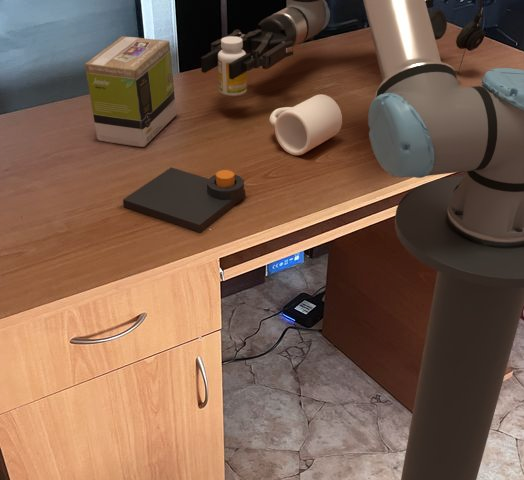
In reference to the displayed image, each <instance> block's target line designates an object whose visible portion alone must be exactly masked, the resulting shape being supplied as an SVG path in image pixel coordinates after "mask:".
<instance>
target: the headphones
mask: <svg viewBox="0 0 524 480" xmlns="http://www.w3.org/2000/svg"><path fill="white" fill-rule="evenodd" d="M477 1H478V3H477V4H478V13H475V14H474V18H473V20H471V21H470V22H469V23H468V22H467V24H466V25H464V26H463V27H462V29H461V30H460V31H459V33H458V34H457V36H456V40H455V44H456V47H457V48H458V49H459V50H464V51H463V55H462V59H461V62H460V65H459V68H458V71H457V70H455V73H457V74H459V73H460V70H461V67H462V63H463V60H464V56H465V52H466V50H467V51H468V52H471V51H474V50H476V49H478V48H479V46H480V45H481V44H482V43H483V41H484V39H485V36H486V33H485V30H483V27H482V26H481V24H482V22H483V19H484V14H483V10H484V7H485V3H486V2H485V1H483V3H482V0H477ZM425 3H426V6H427V9H430V11H428V14H429V18H430V22H431V25H432V29H433V33H434V37H435V41H436V40H437V41H438V40H440V39H442V38H443V36H444V35H445V33H446V32H447V28H448V22H447V16H446V14H445V12H444V11H443V10H441V9H439V8H434V0H425ZM433 8H434V9H433Z"/></svg>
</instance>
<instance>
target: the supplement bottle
mask: <svg viewBox="0 0 524 480" xmlns="http://www.w3.org/2000/svg"><path fill="white" fill-rule="evenodd" d="M223 37H224V38H223ZM223 37H221V38H222V39H221V38H220V39H221V48H222V50H221V51H220V52H219V53H218V66H217V73H218V91H219V93H220V94H221V95H224V96H228V97H229V96H230V97H237V96H242V95H243V94H244V95H245V94H246V92H247V90H248V73H247V72H248V71H246V72H245V73H243V74H241V75H239V76H238V77H236V78H234V79H229V64H230V63H231V62H233V61H235V60H237V59H238V58H240V57H242V56H244V55H246V53H245V51H244V50H242V47H243V41H242V39H241V38H240V37H234V36H229V37H225V36H223Z"/></svg>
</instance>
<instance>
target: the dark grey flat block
mask: <svg viewBox="0 0 524 480" xmlns="http://www.w3.org/2000/svg"><path fill="white" fill-rule="evenodd" d="M245 198H246V189H245V180H244V179H243V178H242V177H241V175H237V174H235V184H234V186H231V187H219V186H217V185H216V174H214V175H212V176H210V177H209V178H207V177H205V176H201V175H199V174H194V173H191V172H189V171H185V170H181V169H178V168H175V167H170V168H168V169H166V170H165V171H164V172H162V173H161V174H159V175H157V176H156V177H154V178H153V179H151V180H150V181H148V182H147V183H145V184H143V186H141V187H140V188H138V189H136V190H135V191H133V192H132V193H130V194H128V195H127V196H126V197H124V198H122V204H123V208H125V209H129V210H132V211H135V212H138V213H141V214H144V215H146V216H149V217H152V218H155V219H158V220H161V221H164V222H167V223H170V224H173V225H176V226H179V227H182V228H185V229H188V230H191V231H193V232H197V233H202V232H203V231H204V230H206V229H207V228H208V227H209V226H211V225H212V224H213V223H215V222H216V221H217V220H219V218H220V217H221V218H222V216H224V215H225V214H226V213H227V212H228V211H230V210H231V209H232V208H233V207H235V206H236V205H237V204H238V203H240V202H241V201H242V200H244V199H245Z"/></svg>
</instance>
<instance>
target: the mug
mask: <svg viewBox="0 0 524 480" xmlns="http://www.w3.org/2000/svg"><path fill="white" fill-rule="evenodd" d="M269 123H270V124H271V125H272V126H273V127H274V133H275V138H276V140H277V142H278V144H279V146H280V147H281V148H282V149H283V150H284V151H285V152H287V154H290V155H292V156H302V155H304V154H306V153H307V152H309V151H311V150H313V149H314V148H316V147H318V146H320V145H322V144H323V143H324V142H326V141H328V140H329V139H331V138H333V137H335V136H337V134H338V133H339V132H340V131H341V128H342V125H343V115H342V111H341V108H340V106H339V105H338V103H337V102H336V101H335V99H333V98H332V97H331V96H329V95H326V94H323V93H321V94H319V93H318V94H315V95H314V96H312V97H309V98H307V99H306V100H304V101H302V102H300V103H298V104H296V105H294V106H285V107H279V108H276V109H275V110H273V111H272V112H271V114H270V116H269Z"/></svg>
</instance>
